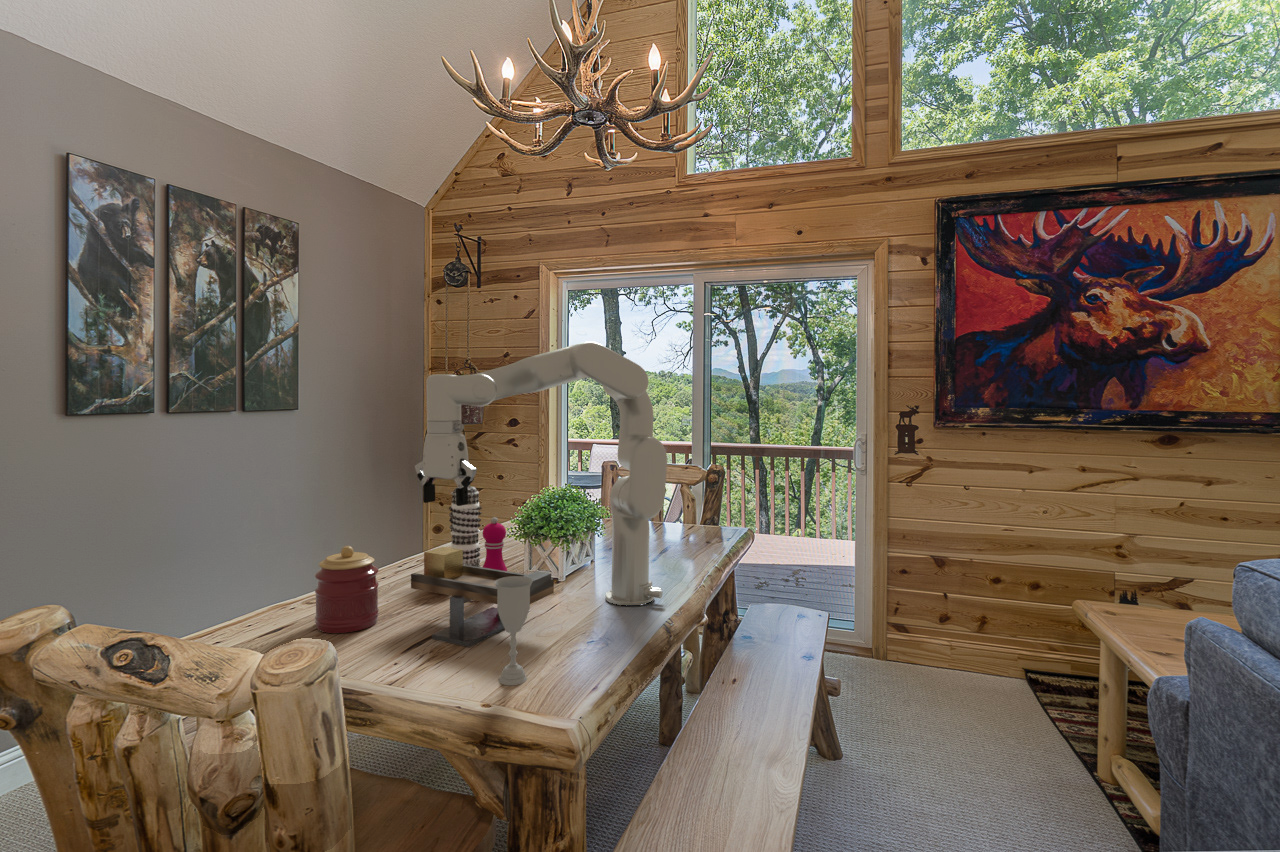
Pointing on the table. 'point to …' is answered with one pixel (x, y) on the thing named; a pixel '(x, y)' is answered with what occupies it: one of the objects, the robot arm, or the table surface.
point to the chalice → (513, 620)
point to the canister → (346, 592)
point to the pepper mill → (494, 545)
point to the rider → (444, 562)
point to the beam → (481, 584)
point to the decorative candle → (466, 527)
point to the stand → (469, 625)
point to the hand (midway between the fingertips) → (445, 503)
